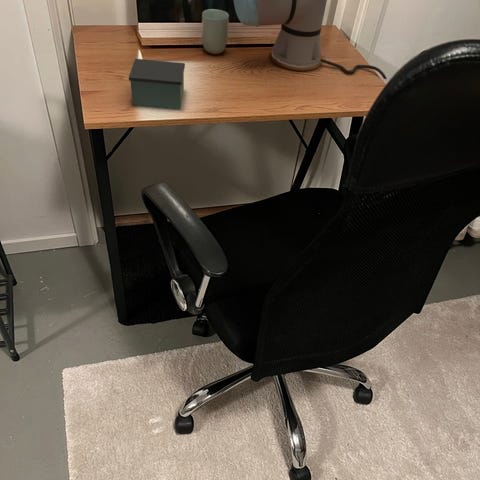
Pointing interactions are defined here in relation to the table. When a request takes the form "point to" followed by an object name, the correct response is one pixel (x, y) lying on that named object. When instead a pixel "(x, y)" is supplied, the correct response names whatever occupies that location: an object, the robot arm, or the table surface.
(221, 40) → the cup
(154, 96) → the container
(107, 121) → the table surface
